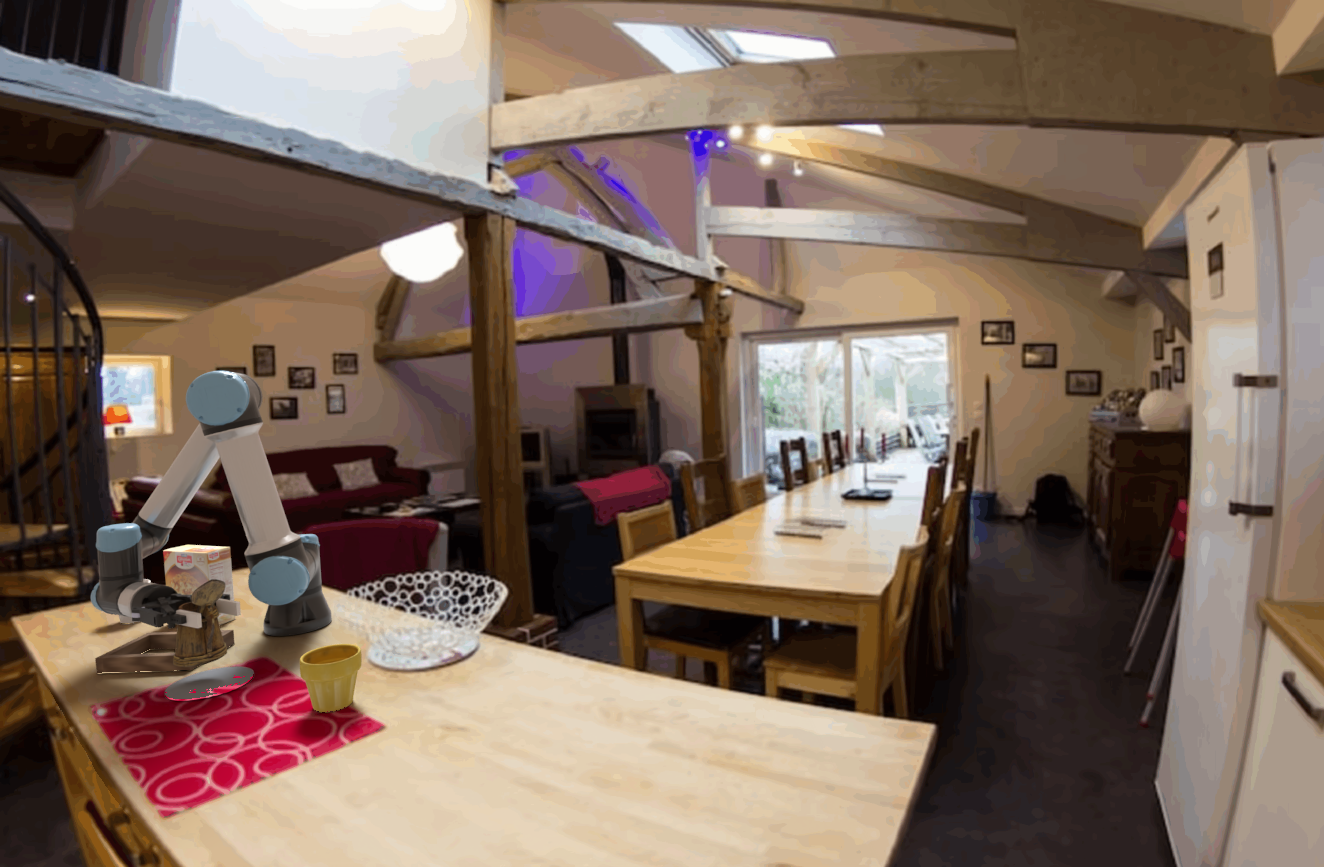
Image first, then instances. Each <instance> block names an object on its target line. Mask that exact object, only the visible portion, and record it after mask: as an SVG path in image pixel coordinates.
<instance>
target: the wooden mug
mask: <svg viewBox="0 0 1324 867" xmlns="http://www.w3.org/2000/svg"><path fill="white" fill-rule="evenodd" d="M224 590H225V582H223V581H221V580H217V579H211V580H209V581H208V582H206V583H204V584H203V585H201V586H200V587H198V588H197V589H196V590H195V591H194V592H193V594H192V596H191V602H188V603H184V604H182V605H180V606H179V608H178V610H185V611H191V612H196V613H201V622H202V627H201V628H193V627H188V626H183V625H178V624H177V625H176V632H177V636H176V649H174V651H175V652H174V653H175V655H174V658H173V664H174V665H175V666H179V667H194V666H198V667H200V666H203V665H207V664H209V663H212V662H215V661H217V660H220V659H221V658H223V657H225V656H226V655H227V654H228V649H227V647H226V643H225V642H224V641H223V637H222V634H221V630H222V629H221V627H220V626H221V625H219V622H218V616H219V612H218V610H217V608H216V607H215V605H214V604H215V602H216V601H217V600H218V599H219V598H220V597H221V596H222V595H223V593H224ZM199 665H200V666H199Z"/></svg>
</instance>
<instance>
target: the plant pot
mask: <svg viewBox="0 0 1324 867" xmlns="http://www.w3.org/2000/svg"><path fill="white" fill-rule="evenodd" d="M361 667H362V648H361V647H360V646H359V645H356V644H352V643H338V644H337V643H336V644H329V645H324V646H320V647H317V648H315V649H314V648H313V649H311V650H309V651H307V652H305V653H303V655H301V656H300V658H299V673H300V678H301V679H302V680H303V681H304V682H305V685H306V688H307V692H308V694H309V698H310V701H311V706H312V708H313V710H314V711H315V710H316V711H315V712H317V711H319V712H318V713H322V712H325V713H331V712H330V711H333V712H337V711H341V710H343V709H345V708H347V707H348V706H350V705H351V704H352V703H353V702H354V695H355V690H356V682H357V677H358V676H357V675H358V672H359V670H360V669H361ZM344 707H345V708H344ZM340 709H341V710H340ZM336 710H337V711H336ZM327 711H328V712H327Z"/></svg>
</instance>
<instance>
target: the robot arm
mask: <svg viewBox="0 0 1324 867" xmlns="http://www.w3.org/2000/svg"><path fill="white" fill-rule="evenodd" d="M185 403H186V407H187V410H188V411H189V412H190V414H191V415H192V416H193V417H194V419H195V420H197V421H198V422H199V423H198V425H197V426H196V428H195V429H194V431H193V432H192V434H191V435H190V437H189V438H188V440H187V441H186V442H185V444H184V446H183V447H182V448H181V450H180V452H179V453H178V454H177V456H176V457H175V459H174V460H173V462H172V463H171V465H170V467H169V468H167V471H166V472H165V474H164V475H163V476H162V478H161V480H159V482H158V484H157V485H156V487H155V489H154V490H153V492H152V493H151V494H150V496H149V498H148V499H147V500H146V502H145V503H144V505H143V506H142V508H141V509H140V510H139V512H138V513H137V516H135V518H134V519H133V521H132V522H131V523H129V522H126V523H125V522H124V523H116V524H114V523H113V524H110V525H105V526H102V527H100V528H98V530H97V531H96V542H95V548H96V553H97V554H96V556H97V564H98V574H99V575H98V576H99V577H98V578H99V579H98V582H97V583H96V584H95V585H94V587H93V589H92V591H91V592H90V602H91V604H92V606H93V607H94V608H96V609H97V610H99V611H101V612H104V613H105V614H108V615H109V614H110V615H115V616H119V615H122V616H127V617H132V621H137V622H138V623H143V624H146V625H149V626H151V627H154V628H158V629H159V628H162V627H164V624H167V629H169V630H171V629H175V628H177V625H176V624H178V625H183V626H188V627H193V628H201V627H202V622H201V613H196V612H191V611H185V610H178V608H179V606H180V605H182V604H184V603H188V602H191V596H192V595H182V594H178V593H177V592H176V591H175V590H174V589H173V588H172V587H169V586H166V584H159V583H155V582H154V583H153V582H150V583H148V582H144V579H145V578H144V564H143V562H144V561H143V559H145V558H147V557H148V556H150V555H152V554H155V553H157V552H159V551H160V550H161V549H162V548H163V547H164V546H165V545H166V544H167V542H168V541H169V537H170V533H171V532H172V530H173V528H174V526H175V525H176V523H177V522H178V520H179V519H180V517H181V516H182V514H183V513H184V511H185V510H186V508H187V507H188V505H189V504H190V503H191V501H192V499H193V498H194V496H195V495H196V493H197V492H198V490H200V488H201V486H202V485H203V483H204V482H205V480H206V478H207V477H208V476H209V474H210V473H211V471H212V470H213V468H214V467H215V465H216V464H217V463H218V461H219V460H220V461H221V464H222V468H223V470H224V474H225V476H226V479H227V482H228V486H229V488H230V491H231V494H232V497H233V500H234V504H235V505H236V509H237V512H238V515H239V518H240V521H241V523H242V526H243V531H244V534H245V536H246V539H247V541H248V546H247V548H246V549H245V551H244V557H245V560H246V563H247V566H248V570H249V574H248V578H247V579H248V580H247V582H248V583H247V585H248V589H249V591H250V594H252V596H253V597H254V598H255V599H256V600H258V601H259V602H260V603H263V604H266V605H267V608H266V613H265V616H264V619H263V624H262V625H263V633H264V634H265V635H267V636H274V637H275V636H276V637H286V636H287V637H288V636H295V635H302V634H305V633H309V632H313V631H316V630H319V629H321V628H325V627H326V626H328V625H329V624H330V623H331V622H332V621H333V620H332V619H333V618H332V611H331V609H330V606H329V604H328V601H327V600H326V597H325V595H324V593H323V586H322V585H323V583H322V572H321V571H322V570H321V557H320V555H321V554H320V546H321V544H320V542H319V537H318V536H317V535H316V534H313V533H306V534H305V533H303V534H302V533H301V534H298V533H295V532H293V531H292V530H291V528H290V525H289V522H288V519H287V515H286V514H285V510H284V507H283V504H282V500H281V498H280V494H279V492H278V489H277V486H276V483H275V479H274V476H273V473H272V470H271V467H270V463H269V461H268V459H267V455H266V453H265V452H266V451H265V449H264V446H263V443H262V440H261V437H260V434H259V432H260V429H261V428H262V427H263V425H264V422H263V419H262V415H261V412H260V408H261V407H262V405H263V392H262V389H261V386H260V385H259V384H258V382H257V381H256V380H255V379H253V378H252V376H249V375H247V374H245V373H241V372H237V371H229V370H223V369H219V370H212V371H208V372H205V373H203V374H201V375H199V376H197V377H196V378H195V379H194V380H192V382H190V384H189V386H188V388H187V390H186V394H185ZM214 605H215V607H216V608H217V610H218V612H219V613H223V614H229V615H234V616H235V617H239V616H241V613H242V612H241V602H240V601H237V600H234V601H232V600H230V595H229V594H223V595H222V596H221V597H220V598H219V599H218V600H217V601H216V602H215V604H214Z"/></svg>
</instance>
